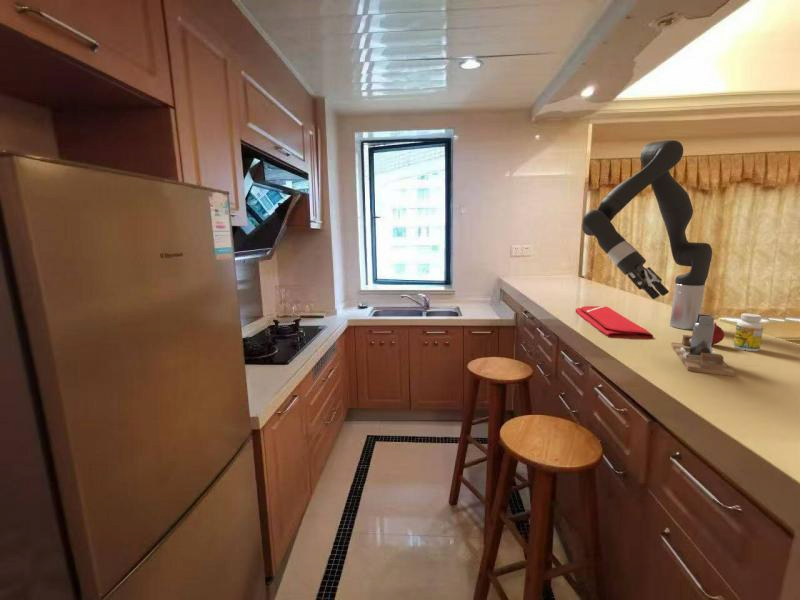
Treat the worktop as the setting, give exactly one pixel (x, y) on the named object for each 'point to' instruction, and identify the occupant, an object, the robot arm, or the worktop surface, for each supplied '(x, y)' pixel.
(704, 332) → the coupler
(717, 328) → the onion
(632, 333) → the red folded towel
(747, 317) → the supplement bottle
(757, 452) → the worktop surface
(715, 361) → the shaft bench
